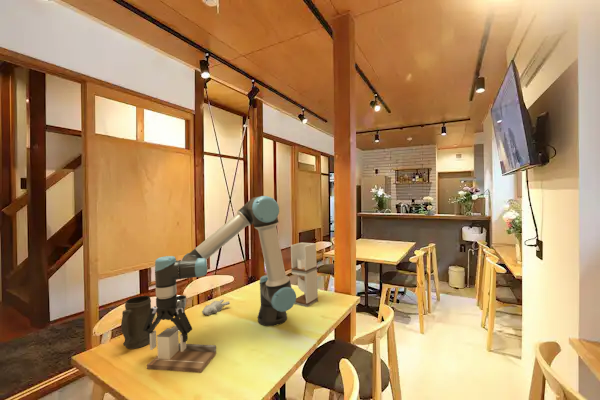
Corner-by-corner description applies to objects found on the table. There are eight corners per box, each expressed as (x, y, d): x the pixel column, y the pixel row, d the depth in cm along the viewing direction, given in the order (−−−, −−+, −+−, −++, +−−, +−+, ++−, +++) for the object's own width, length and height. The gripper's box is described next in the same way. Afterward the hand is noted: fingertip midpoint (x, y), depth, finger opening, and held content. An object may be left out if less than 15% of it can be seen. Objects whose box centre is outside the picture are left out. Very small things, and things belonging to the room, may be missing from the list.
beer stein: (134, 336, 127) (131, 295, 126) (157, 334, 128) (155, 293, 127) (114, 357, 112) (111, 310, 110) (141, 355, 113) (138, 309, 111)
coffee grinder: (303, 297, 170) (301, 242, 171) (317, 300, 164) (315, 243, 164) (292, 303, 161) (290, 245, 161) (307, 307, 155) (305, 246, 155)
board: (216, 353, 110) (216, 345, 110) (201, 372, 98) (200, 362, 98) (167, 351, 113) (167, 342, 113) (146, 368, 101) (146, 359, 101)
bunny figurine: (198, 307, 151) (220, 295, 163) (199, 315, 151) (221, 303, 163) (208, 310, 145) (230, 298, 157) (210, 319, 145) (231, 307, 157)
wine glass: (180, 332, 130) (179, 301, 130) (166, 331, 131) (165, 300, 131) (190, 324, 137) (189, 295, 137) (176, 323, 139) (175, 294, 139)
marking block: (178, 350, 110) (178, 328, 110) (169, 359, 104) (168, 336, 104) (167, 350, 111) (167, 328, 111) (157, 358, 105) (157, 335, 105)
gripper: (199, 293, 110) (201, 345, 110) (145, 292, 114) (147, 342, 113) (189, 299, 102) (191, 355, 102) (131, 298, 106) (133, 352, 106)
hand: (168, 349), depth 108 cm, fingers open, 13 cm apart
